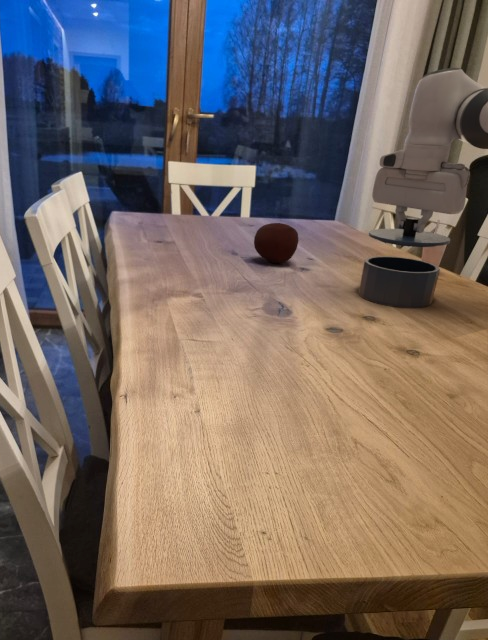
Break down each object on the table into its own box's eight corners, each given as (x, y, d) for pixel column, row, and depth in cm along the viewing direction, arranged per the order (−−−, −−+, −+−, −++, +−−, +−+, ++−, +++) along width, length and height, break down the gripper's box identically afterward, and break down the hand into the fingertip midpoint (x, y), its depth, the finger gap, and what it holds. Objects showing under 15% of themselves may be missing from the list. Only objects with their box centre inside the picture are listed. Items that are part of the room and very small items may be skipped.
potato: (272, 255, 163) (276, 217, 159) (305, 265, 153) (310, 225, 149) (242, 258, 157) (245, 219, 153) (274, 269, 148) (279, 228, 143)
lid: (465, 245, 122) (470, 222, 120) (417, 251, 113) (422, 227, 111) (399, 232, 134) (403, 211, 132) (351, 237, 125) (355, 214, 123)
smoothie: (409, 272, 152) (421, 217, 146) (429, 271, 154) (442, 217, 148) (425, 278, 147) (438, 222, 141) (446, 277, 149) (459, 222, 142)
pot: (446, 302, 127) (454, 268, 124) (401, 311, 119) (409, 276, 116) (388, 285, 139) (394, 253, 135) (344, 292, 130) (349, 259, 127)
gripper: (480, 164, 110) (463, 237, 116) (392, 156, 125) (381, 222, 131) (462, 164, 107) (444, 240, 113) (373, 156, 122) (362, 224, 128)
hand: (409, 230), depth 122 cm, fingers closed on lid, 2 cm apart
